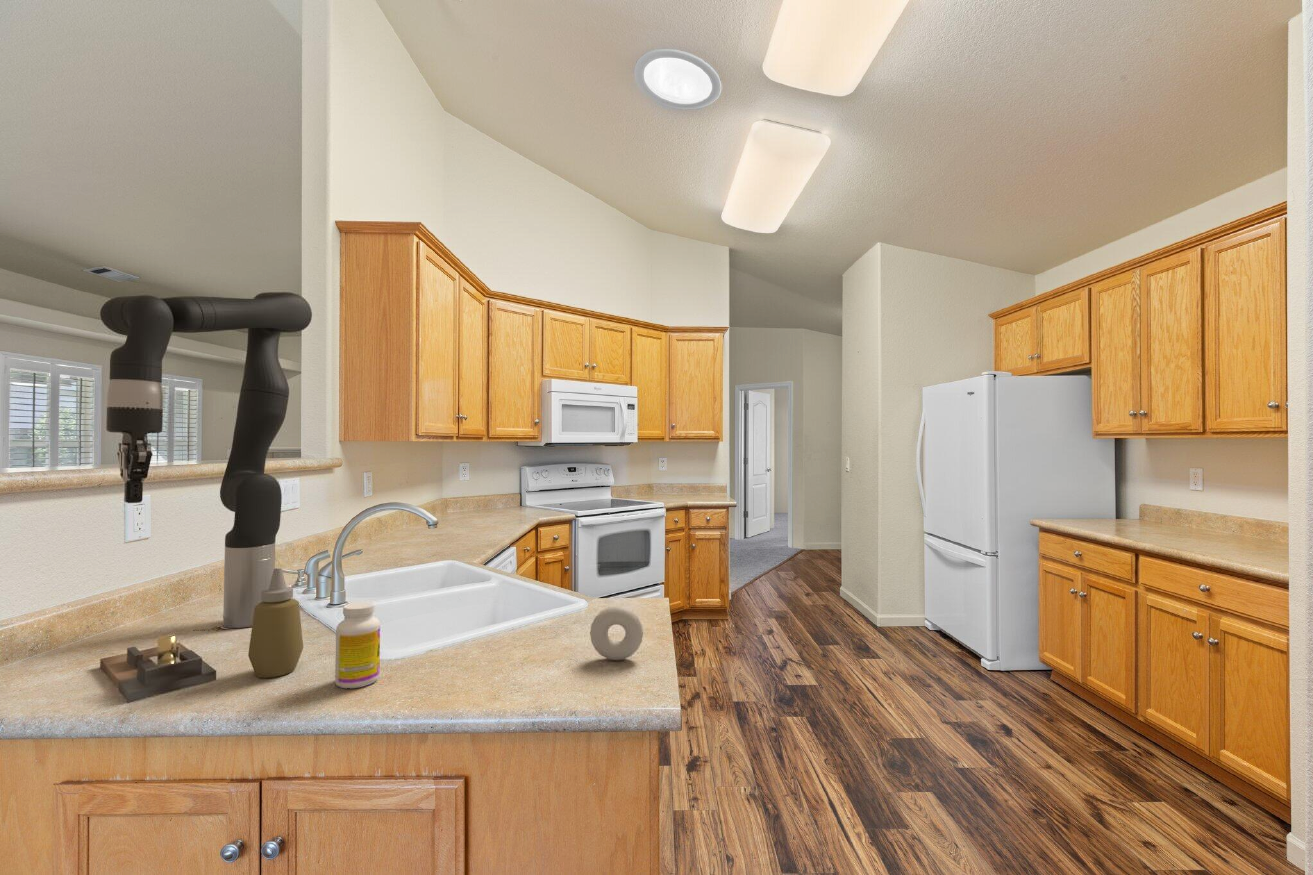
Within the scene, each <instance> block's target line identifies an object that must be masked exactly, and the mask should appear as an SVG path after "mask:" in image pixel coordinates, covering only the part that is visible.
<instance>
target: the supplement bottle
mask: <svg viewBox="0 0 1313 875" xmlns="http://www.w3.org/2000/svg"><path fill="white" fill-rule="evenodd" d="M342 610H343V611H342V614H343V617H344V619H343V620H341V621H340V622H339V623H338V624H337V625H336V629H335V668H334V671H335V673H334V678H335V679H334V683H335V685H336V686H337V687H339V688H342V689H347V688H350V689H358V688H363V687H366V686H369V685H371V684H374V683H375V682H377V681H378V679H379V677H380V671H381V670H380V669H381V666H380V665H381V663H380V662H381V657H380V656H381V655H380V654H381V622H380V620H379V619H378V618H377V617H375V616H373V615H374V612H375V603H374V602H371V601H357V602H351V603H347V604H345V605H343V608H342Z"/></svg>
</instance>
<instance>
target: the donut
mask: <svg viewBox="0 0 1313 875" xmlns="http://www.w3.org/2000/svg"><path fill="white" fill-rule="evenodd" d="M616 625H619V626H621V627H622V628H623V630H624V631H625V632H624V633H625V635H624V636H623V638H622V639H621V640H618V641H615V640H613V639H612V638H610V636H609V630H610V628H611V627H613V626H616ZM589 634H590V635H589V636H590V643H591V644H592V646H593V648H594V650H595V651H596V653H598V654H599V655H600V656H601V657H602V658H605V659H607V660H612V661H621V660H622V661H623V660H626V659H627V658H629V657H632V656H633V655H634V654H635V653H636V652H637V651H638V649H639V648H640V646H641V645H642V642H643V638H644V630H643V624H642V622H641V620H640V618H639V617H638V615H637V614H636V613H635V612H634V611H633V610H631V609H630V608H628V607H625V606H620V605H615V606H608V607H606V608H604V609H602V610H601V611H600V612H598V614H597V615H596V616H595V617H594V618H593V620H592V623H591V625H590V631H589Z"/></svg>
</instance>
